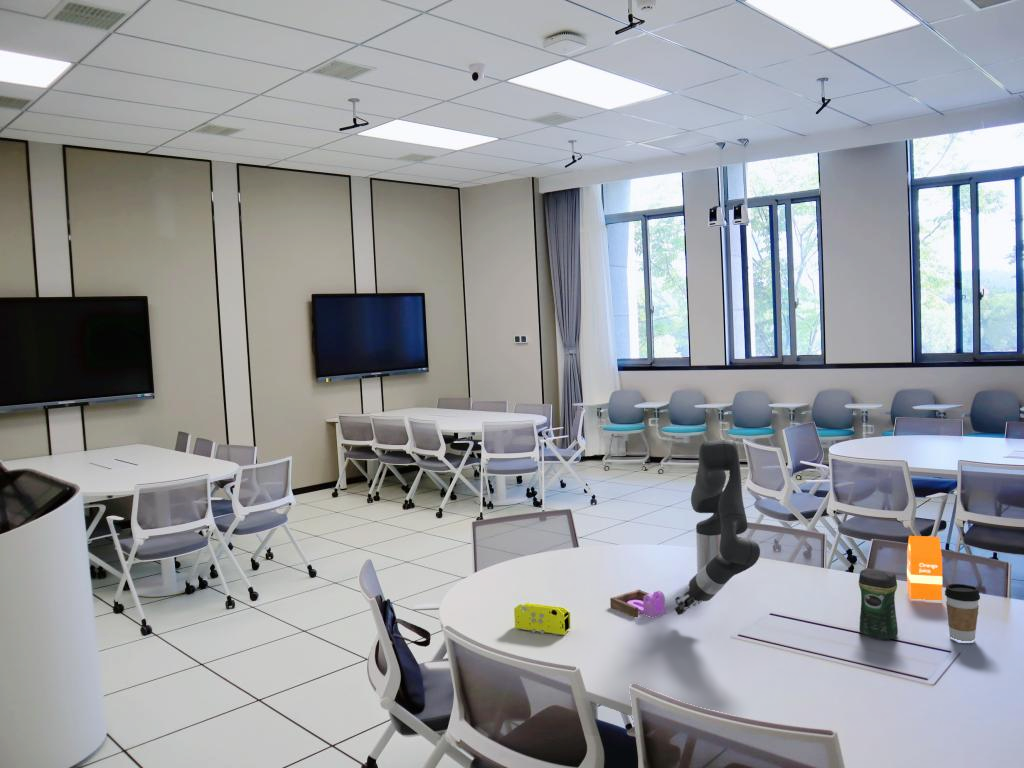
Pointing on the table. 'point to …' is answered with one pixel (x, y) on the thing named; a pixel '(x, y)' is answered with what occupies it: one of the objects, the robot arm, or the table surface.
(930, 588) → the orange juice
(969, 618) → the coffee cup
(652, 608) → the bracket
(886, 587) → the coffee jar
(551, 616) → the yellow toy chassis
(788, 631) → the table surface
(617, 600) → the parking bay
